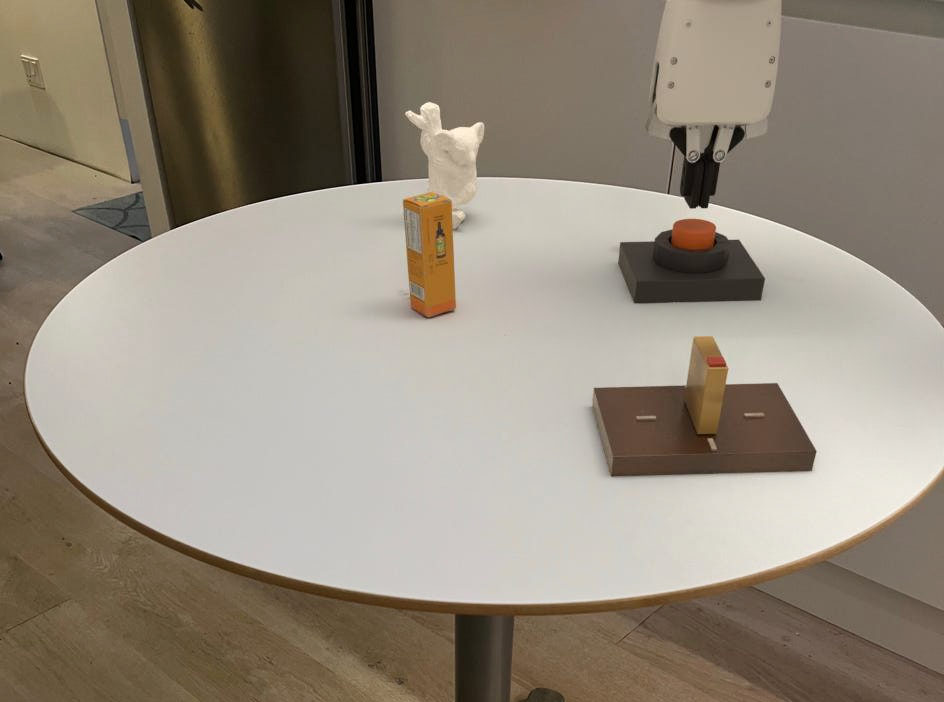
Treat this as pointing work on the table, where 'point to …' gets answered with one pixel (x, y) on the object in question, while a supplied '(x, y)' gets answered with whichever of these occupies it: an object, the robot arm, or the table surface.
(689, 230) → the button
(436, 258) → the supplement box
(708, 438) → the plate
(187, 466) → the table surface
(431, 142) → the white animal figurine
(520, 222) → the table surface
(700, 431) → the red-tipped yellow slab
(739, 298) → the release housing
